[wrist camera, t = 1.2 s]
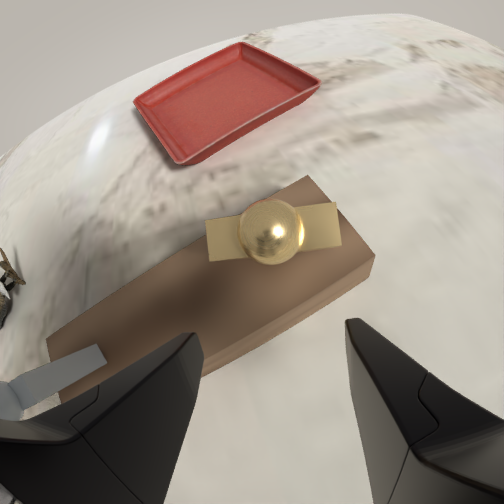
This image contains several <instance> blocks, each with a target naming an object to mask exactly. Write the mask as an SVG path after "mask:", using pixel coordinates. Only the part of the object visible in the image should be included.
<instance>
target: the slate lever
mask: <svg viewBox="0 0 504 504" xmlns="http://www.w3.org/2000/svg"><path fill="white" fill-rule="evenodd" d="M106 363H107V361H106V359H105V358H104V356H103V354H102V352H101V351H100V349H99V347H98V345H97V344H94V345H91V346H89V347H87V348H84V349H82V350H80V351H77V352H75V353H72V354H70V355H68V356H65V357H63V358H60V359H58V360H56V361H53V362H51V363H48V364H46V365H43V366H41V367H38V368H36V369H34V370H31V371H29V372H26V373H24V374H21V375H20V376H18V377H17V378H15V379H14V380H12V381H11V382H9V383H8V382H4V381H0V419H4V420H10V421H19V420H20V419H21V418H22V416H23V414H24V410H25V409H27V408H29V407H31V406H33V405H35V404H37V403H39V402H40V401H42V400H44V399H46V398H47V397H49V396H51V395H53V394H54V393H56V392H58V391H60V390H61V389H63V388H65V387H67V386H68V385H70V384H72V383H74V382H75V381H77V380H79V379H81V378H82V377H84V376H86V375H88V374H89V373H91V372H93V371H94V370H96V369H98V368H100V367H101V366H103V365H105V364H106Z"/></svg>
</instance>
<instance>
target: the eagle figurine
mask: <svg viewBox="0 0 504 504" xmlns="http://www.w3.org/2000/svg"><path fill="white" fill-rule="evenodd" d="M0 252H1V255H2V257H3V260H4V261H5V262H4V261H1V262H0V266H1V267H2V268H3V269H4V270H5V273H4V275H3V276H2V277H1V278H0V329H1V327H2V326H1V325H2V321H3V319H4V317H5V316H6V313H7V305H6V301H5V300H4V299H5V296H7V297H8V298H9V299H10V297H9V294H8V291H10V290H11V289H12V288H13V287H14V286H15V285H16V284H17V283H18V284H22V285H24V284H26V283H25V282H24V281H23V280H21V279H20V278H19V277H18V276H17V274H16V273H15V271H14V270H13V269H12V267H11V265H10V263H9V261H8V259H7V257H6V255H5V253H4V252H3V250H2V249H1V248H0ZM7 277H10V278H12V279H13V280H14V281H13V282H11V283H10V284H8V285H7V286H6V284H5V283H4V282H5V281H6V278H7Z"/></svg>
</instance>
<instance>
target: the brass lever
mask: <svg viewBox="0 0 504 504" xmlns="http://www.w3.org/2000/svg"><path fill="white" fill-rule="evenodd" d="M205 225H206V234H207V243H208V252H209V261H222V260H234V259H245V258H251V259H252V260H254V261H256V262H258V263H261V264H265V265H277V264H281V263H283V262H286V261H287V260H289V259H290V258H292V257H293V256H294V255H295V254H296V253H298V252H306V251H314V250H322V249H330V248H334V247H338V246H342V243H341V235H340V228H339V220H338V213H337V206H336V202H331V203H323V204H315V205H307V206H299V207H292V206H291V205H289V204H288V203H286V202H284V201H282V200H279V199H263V200H259V201H257V202H255V203H253V204H252V205H250V206H249V207H248V208H247V209H246V210H245V211H244V212H243V214H242V215H236V216H230V217H223V218H217V219H210V220H205Z"/></svg>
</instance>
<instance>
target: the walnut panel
mask: <svg viewBox="0 0 504 504" xmlns="http://www.w3.org/2000/svg"><path fill="white" fill-rule="evenodd" d="M267 199H279V200H282V201H284V202H286V203H288V204H289V205H291V206H292V207H299V206H307V205H315V204H323V203H331V201H330V199H329V198H328V197H327V196H326V195H325V194H324V192H323V191H322V190H321V189H320V188H319V187H318V186H317V185H316V183H315V182H314V181H313V180H312V179H311V178H310V177H309V176H308V175H307V176H305V177H303V178H301V179H300V180H298V181H296V182H294V183H293V184H291V185H289V186H287V187H286V188H284V189H282V190H280V191H279V192H277V193H275V194H273V195H272V196H270V197H268V198H267ZM337 213H338V220H339V228H340V235H341V243H342V246H338V247H334V248H330V249H322V250H314V251H306V252H298V253H296V254H295V255H294V256H293V257H292V258H290V259H289V260H287V261H286V262H283V263H281V264H277V265H265V264H261V263H258V262H256V261H254V260H252V259H251V258H245V259H234V260H222V261H209V252H208V243H207V234H206V235H204V236H203V237H201V238H200V239H198V240H196V241H195V242H193V243H191V244H190V245H188V246H187V247H185V248H183V249H182V250H180V251H179V252H177V253H175V254H174V255H172V256H171V257H169V258H167V259H166V260H164V261H163V262H161V263H159V264H158V265H156V266H155V267H153V268H152V269H150V270H148V271H147V272H145V273H144V274H142V275H141V276H139V277H137V278H136V279H134V280H133V281H131V282H130V283H128V284H127V285H125V286H124V287H122V288H120V289H119V290H117V291H116V292H114V293H113V294H111V295H110V296H108V297H107V298H105V299H104V300H102V301H101V302H99V303H98V304H96V305H95V306H93V307H92V308H90V309H89V310H87V311H86V312H84V313H83V314H81V315H80V316H78V317H77V318H75V319H74V320H72V321H71V322H70V323H68V324H67V325H65V326H64V327H62V328H61V329H59V330H58V331H56V332H55V333H54V334H52V335H51V336H49V337H48V338H46V342H47V347H48V352H49V357H50V361H51V362H53V361H56V360H58V359H60V358H63V357H65V356H68V355H70V354H72V353H75V352H77V351H80V350H82V349H84V348H87V347H89V346H91V345H94V344H97V345H98V347H99V349H100V351H101V352H102V354H103V356H104V358H105V359H106V361H107V363H106V364H105V365H103V366H101V367H100V368H98V369H96V370H94V371H93V372H91V373H89V374H88V375H86V376H84V377H82V378H81V379H79V380H77V381H75V382H74V383H72V384H70V385H68V386H67V387H65V388H63V389H61V390H60V391H58V393H59V397H60V400H61V404H62V403H64V402H66V401H68V400H70V399H72V398H74V397H76V396H78V395H80V394H81V393H83V392H85V391H87V390H89V389H90V388H92V387H94V386H95V385H97V384H99V385H100V383H101V382H102V381H104V380H106V379H107V378H109V377H111V376H112V375H114V374H116V373H117V372H119V371H121V370H122V369H124V368H126V367H127V366H129V365H131V364H132V363H134V362H136V361H137V360H139V359H140V358H142V357H144V356H145V355H147V354H149V353H150V352H152V351H154V350H155V349H157V348H158V347H160V346H162V345H163V344H165V343H166V342H168V341H170V340H171V339H173V338H174V337H176V336H178V335H179V334H181V333H183V332H195V333H196V334H197V335H198V338H199V341H200V344H201V347H202V350H203V353H204V363H203V368H202V374H201V378H202V377H203V376H205V375H207V374H209V373H211V372H213V371H215V370H217V369H219V368H221V367H222V366H224V365H226V364H228V363H230V362H232V361H233V360H235V359H237V358H239V357H241V356H243V355H244V354H246V353H248V352H250V351H251V350H253V349H255V348H257V347H258V346H260V345H262V344H264V343H265V342H267V341H269V340H271V339H272V338H274V337H276V336H277V335H279V334H281V333H282V332H284V331H286V330H287V329H289V328H291V327H292V326H294V325H296V324H297V323H299V322H301V321H302V320H304V319H306V318H307V317H309V316H310V315H312V314H314V313H315V312H317V311H318V310H320V309H321V308H323V307H325V306H326V305H328V304H329V303H331V302H332V301H334V300H335V299H337V298H339V297H340V296H342V295H343V294H345V293H346V292H348V291H349V290H351V289H352V288H354V287H355V286H357V285H358V284H360V283H361V282H363V281H364V280H365V279H367V278H368V277H369V275H370V272H371V268H372V265H373V262H374V259H375V254H374V253H373V252H372V250H371V249H370V248H369V246H368V245H367V244H366V243H365V241H364V240H363V239H362V238H361V236H360V235H359V234H358V233H357V232H356V230H355V229H354V228H353V227H352V225H351V224H350V223H349V222H348V221H347V219H346V218H345V217H344V216H343V215H342V213H341V212H340V211H339V210H338V209H337ZM242 214H243V213H241V214H239V215H242Z"/></svg>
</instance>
